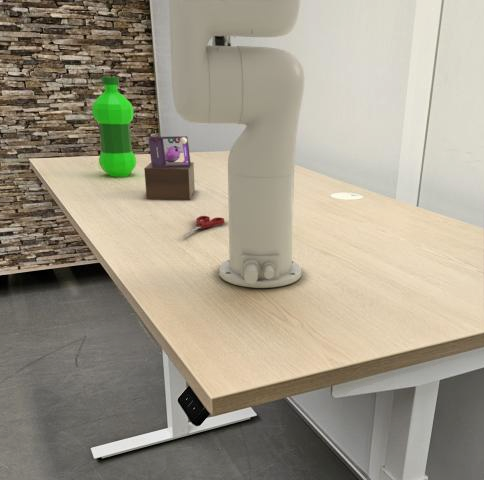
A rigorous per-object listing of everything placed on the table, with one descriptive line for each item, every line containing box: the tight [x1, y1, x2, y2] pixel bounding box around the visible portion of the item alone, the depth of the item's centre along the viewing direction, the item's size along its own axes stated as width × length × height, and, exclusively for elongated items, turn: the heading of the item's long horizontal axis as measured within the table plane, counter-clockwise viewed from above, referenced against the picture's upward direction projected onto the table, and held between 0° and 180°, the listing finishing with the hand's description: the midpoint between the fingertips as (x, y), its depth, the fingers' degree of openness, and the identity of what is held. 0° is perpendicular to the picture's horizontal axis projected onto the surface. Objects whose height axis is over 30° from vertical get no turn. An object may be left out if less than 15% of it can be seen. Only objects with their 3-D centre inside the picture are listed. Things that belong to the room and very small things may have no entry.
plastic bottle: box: [91, 76, 137, 178], centre depth 154 cm, size 10×10×25 cm
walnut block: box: [143, 161, 196, 201], centre depth 137 cm, size 10×10×7 cm
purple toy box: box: [147, 135, 191, 167], centre depth 135 cm, size 7×5×9 cm
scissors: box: [183, 215, 225, 237], centre depth 111 cm, size 5×14×1 cm, turn 164°
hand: (222, 69), depth 113 cm, fingers open, 9 cm apart
